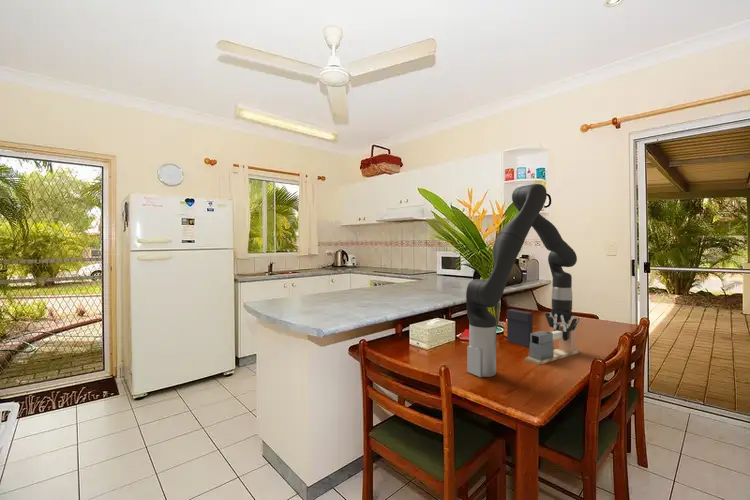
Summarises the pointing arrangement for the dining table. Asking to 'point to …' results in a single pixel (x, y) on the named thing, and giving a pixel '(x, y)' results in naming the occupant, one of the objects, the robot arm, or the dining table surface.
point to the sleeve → (541, 345)
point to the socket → (568, 341)
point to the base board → (557, 355)
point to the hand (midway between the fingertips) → (561, 339)
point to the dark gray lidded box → (519, 327)
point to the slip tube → (558, 334)
